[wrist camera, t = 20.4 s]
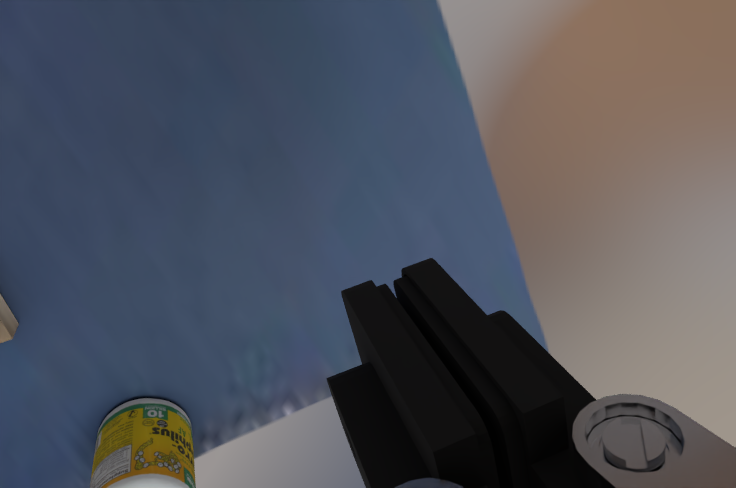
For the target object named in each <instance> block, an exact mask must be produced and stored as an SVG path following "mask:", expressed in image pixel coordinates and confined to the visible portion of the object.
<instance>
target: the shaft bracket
mask: <svg viewBox="0 0 736 488" xmlns="http://www.w3.org/2000/svg"><path fill="white" fill-rule="evenodd" d="M18 325H19V323H18V322H17V320H16V318H15V317H14V315H13V314H12V312H11V310H10V309H9V307H8V305H7V304H6V302H5V301H4V299H3V297H2V296H1V294H0V343H2V342H5V341H8V340H11V339H13V337H14V334H15V332H16V329H17V327H18Z"/></svg>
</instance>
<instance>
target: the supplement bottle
mask: <svg viewBox="0 0 736 488" xmlns="http://www.w3.org/2000/svg"><path fill="white" fill-rule="evenodd" d="M194 471H195V470H194V456H193V440H192V428H191V423H190V420H189V418H188V416H187V415H186V413H185V412H184V411H183V410H182V409H181V408H180V407H178V406H177V405H175V404H173V403H171V402H169V401H166V400H161V399H153V398H142V399H136V400H132V401H128V402H126V403H124V404H122V405H120V406H118V407H117V408H115V409H114V410H113V411H112V412H111V413H109V414H108V415H107V417H106V418H105V419H104V421H103V422H102V424H101V426H100V428H99V431H98V435H97V440H96V447H95V454H94V461H93V468H92V476H91V484H90V488H196V487H195V473H194Z"/></svg>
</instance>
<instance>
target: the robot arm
mask: <svg viewBox="0 0 736 488" xmlns="http://www.w3.org/2000/svg"><path fill="white" fill-rule="evenodd" d="M394 289H395V293H396V297H397V298H396V297H395V296H394V294H393V293H392V291H391V290H390V289H389V287H388V286H387V285H386V284H383V285H380V286H377V287H376V286H375V284H374V283H373V281H372V280H370V281H367V282H364V283H362V284H359V285H356V286H353V287H351V288H348V289H345V290H343V291H341V293H342V298H343V302H344V305H345V308H346V312H347V315H348V318H349V322H350V325H351V328H352V332H353V335H354V338H355V342H356V345H357V348H358V352H359V355H360V358H361V362H362V365H360V366H357V367H355V368H352V369H349V370H347V371H344V372H342V373H339V374H337V375H334V376H332V377H329V378H327V382H328V385H329V388H330V391H331V394H332V397H333V399H334V403H335V406H336V409H337V411H338V414H339V417H340V420H341V423H342V426H343V429H344V431H345V434H346V437H347V439H348V442H349V444H350V448H351V450H352V453H353V456H354V458H355V461H356V463H357V466H358V468H359V471H360V473H361V476H362V479H363V481H364V484H365V486H366V488H736V448H735V447H734V446H732V445H730V444H729V443H727V442H726V441H724V440H723V439H721V438H720V437H718V436H717V435H715V434H714V433H712V432H711V431H709V430H708V429H706V428H705V427H703V426H702V425H700V424H698V423H697V422H696V421H694V420H692V419H691V418H689V417H688V416H686V415H685V414H683V413H682V412H680V411H679V410H677V409H676V408H674V407H672V406H670V405H668V404H666V403H664V402H662V401H660V400H658V399H654V398H650V397H646V396H642V395H631V394H619V395H613V396H606V397H603V398H601V399H598V400H596V399H595V398H593V396H592V395H591V394H590V393H589V392H588V391H587V390H586V389H585V388H583V386H582V385H580V384H579V383H578V382H577V381H576V380H575V379H574V378H573V377H572V376H571V375H570V374H569V373H568V372H567V371H566V370H565V369H564V368H563V367H562V366H561V365H560V364H559V363H558V362H557V361H556V360H555V359H554V358H553V357H552V356H551V355H550V354H549V353H548V352H547V351H546V350H545V349H544V348H543V347H542V346H541V345H540V344H539V343H538V342H537V341H536V340H535V339H534V338H533V337H532V336H531V335H530V334H529V333H528V332H527V331H526V330H525V329H524V328H523V327H522V326H521V325H520V324H519V323H518V322H517V321H515V320H514V319H513V318H512V317H511V316H510V315H509V314H508V313H506V312H505V311H501V310H500V311H497V312H495V313H492V314H490V315H486V314H485V313H484V312H483V311H482V309H481V308H480V307H479V306H478V305H477V304H476V303H475V302H474V301H473V300H472V299H471V298H470V297H469V296H468V295H467V294H466V293H465V292H464V290H463V289H462V288H461V287H460V286H459V285H458V284H457V283H456V282H455V281H454V280H453V279H452V278H451V277H450V276H449V275H448V274H447V273H446V271H445V270H444V269H443V268H442V267H441V266H440V265H439V264H438V263H437V262H436V261H435V260H434V259H433V258H430V259H427V260H424V261H421V262H419V263H416V264H413V265H410V266H408V267H405V268H402V278H399V279H396V280H394Z"/></svg>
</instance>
